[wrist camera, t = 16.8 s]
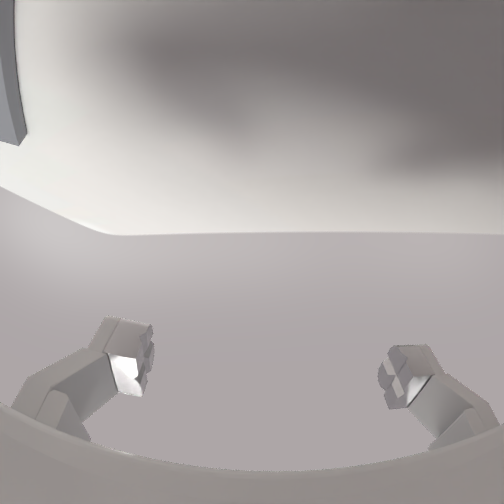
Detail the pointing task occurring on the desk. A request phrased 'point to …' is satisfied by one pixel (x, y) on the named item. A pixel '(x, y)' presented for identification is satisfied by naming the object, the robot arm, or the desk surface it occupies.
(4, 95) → the socket board
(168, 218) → the desk surface
